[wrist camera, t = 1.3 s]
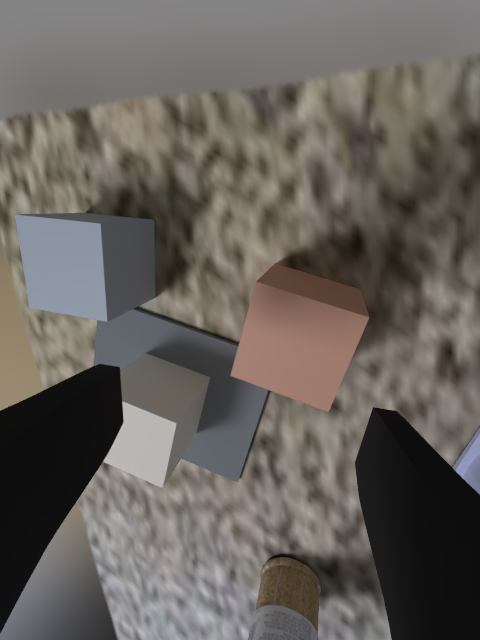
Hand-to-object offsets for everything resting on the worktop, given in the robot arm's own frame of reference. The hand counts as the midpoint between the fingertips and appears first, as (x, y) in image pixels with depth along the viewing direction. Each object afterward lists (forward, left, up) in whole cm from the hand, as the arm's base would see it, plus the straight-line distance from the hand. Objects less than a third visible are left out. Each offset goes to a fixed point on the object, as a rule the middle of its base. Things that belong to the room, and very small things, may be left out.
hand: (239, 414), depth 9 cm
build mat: (+6, +8, -10) cm, 14 cm away
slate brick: (+11, 0, -10) cm, 14 cm away
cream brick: (+6, +8, -9) cm, 13 cm away
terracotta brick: (-1, 0, -10) cm, 10 cm away
